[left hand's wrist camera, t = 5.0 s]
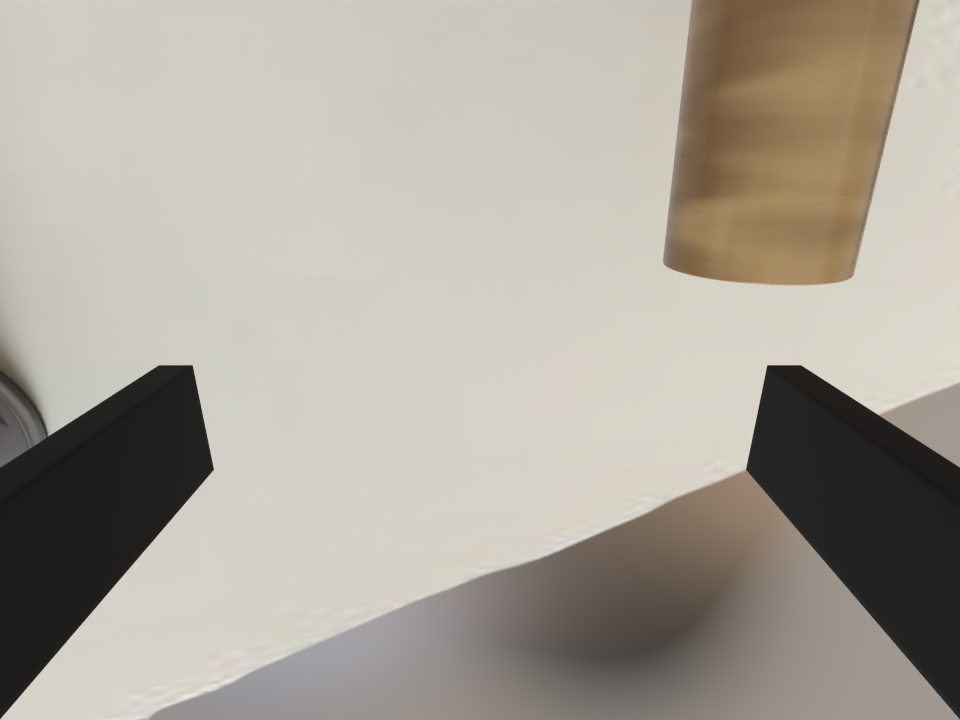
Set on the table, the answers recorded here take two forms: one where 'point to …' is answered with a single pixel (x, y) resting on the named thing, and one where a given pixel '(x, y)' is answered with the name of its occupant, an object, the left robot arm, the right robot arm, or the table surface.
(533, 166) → the table surface
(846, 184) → the brown cylinder
